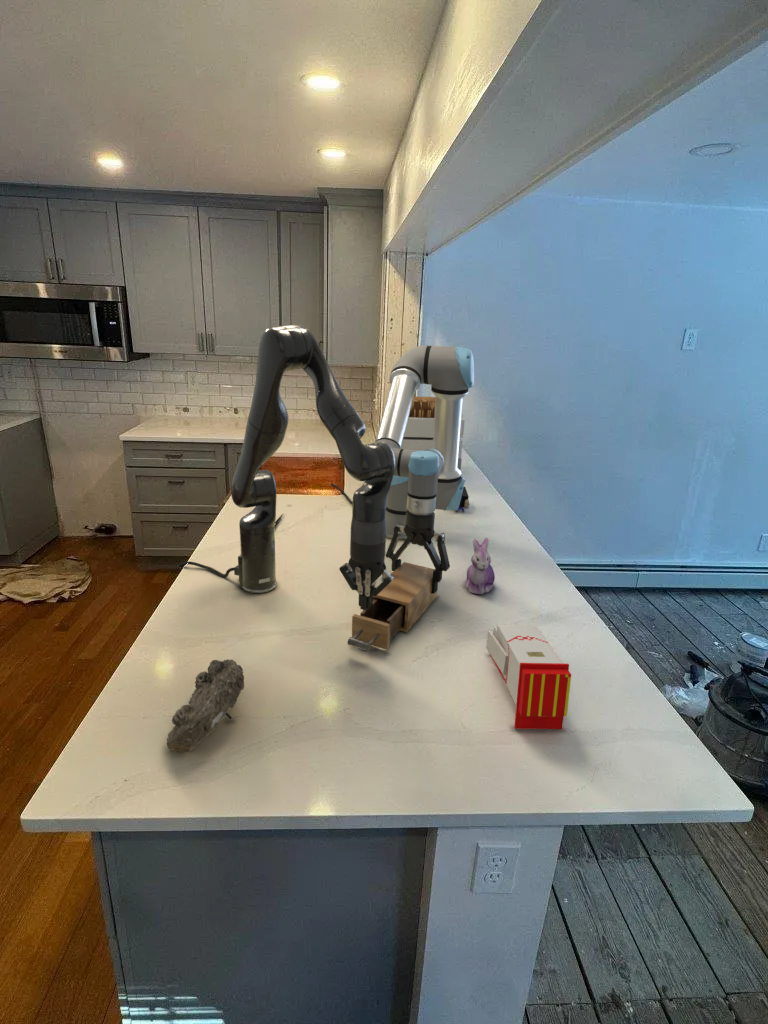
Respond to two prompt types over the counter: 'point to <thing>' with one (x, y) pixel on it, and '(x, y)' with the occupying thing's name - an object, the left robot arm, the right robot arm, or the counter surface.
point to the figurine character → (464, 500)
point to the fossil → (206, 705)
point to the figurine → (480, 569)
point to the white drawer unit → (424, 427)
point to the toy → (531, 675)
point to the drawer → (377, 625)
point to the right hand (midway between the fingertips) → (415, 586)
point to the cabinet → (410, 591)
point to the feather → (278, 520)
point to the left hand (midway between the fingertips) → (365, 608)
